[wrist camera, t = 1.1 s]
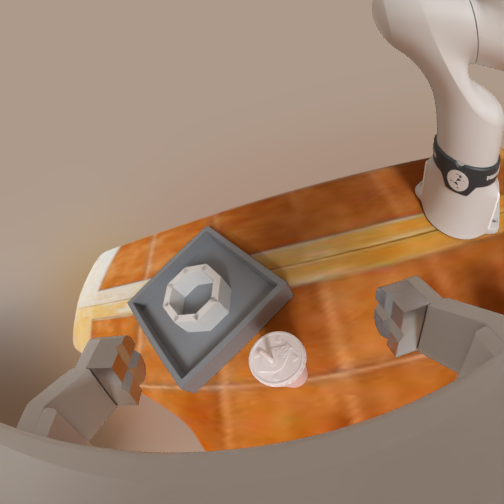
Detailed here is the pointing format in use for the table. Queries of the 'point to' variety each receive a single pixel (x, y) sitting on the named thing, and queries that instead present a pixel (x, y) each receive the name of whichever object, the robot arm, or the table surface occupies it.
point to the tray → (206, 307)
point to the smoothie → (279, 360)
